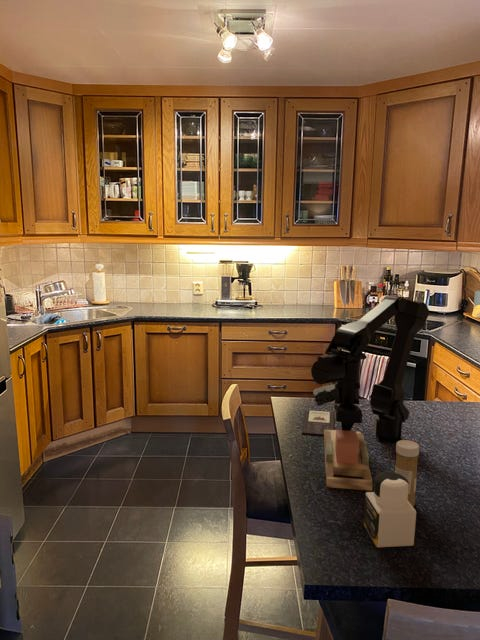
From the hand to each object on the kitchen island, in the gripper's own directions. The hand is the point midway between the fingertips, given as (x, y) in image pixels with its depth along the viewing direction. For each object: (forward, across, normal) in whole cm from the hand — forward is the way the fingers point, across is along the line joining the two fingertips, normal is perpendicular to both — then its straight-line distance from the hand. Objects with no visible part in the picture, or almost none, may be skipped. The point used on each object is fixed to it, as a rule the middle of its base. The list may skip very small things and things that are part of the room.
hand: (344, 435), depth 123 cm
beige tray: (+5, +4, 0) cm, 6 cm away
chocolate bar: (+6, -20, -6) cm, 21 cm away
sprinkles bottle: (+5, +22, +11) cm, 25 cm away
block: (+3, +5, 0) cm, 6 cm away
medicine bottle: (+5, +34, +6) cm, 35 cm away
